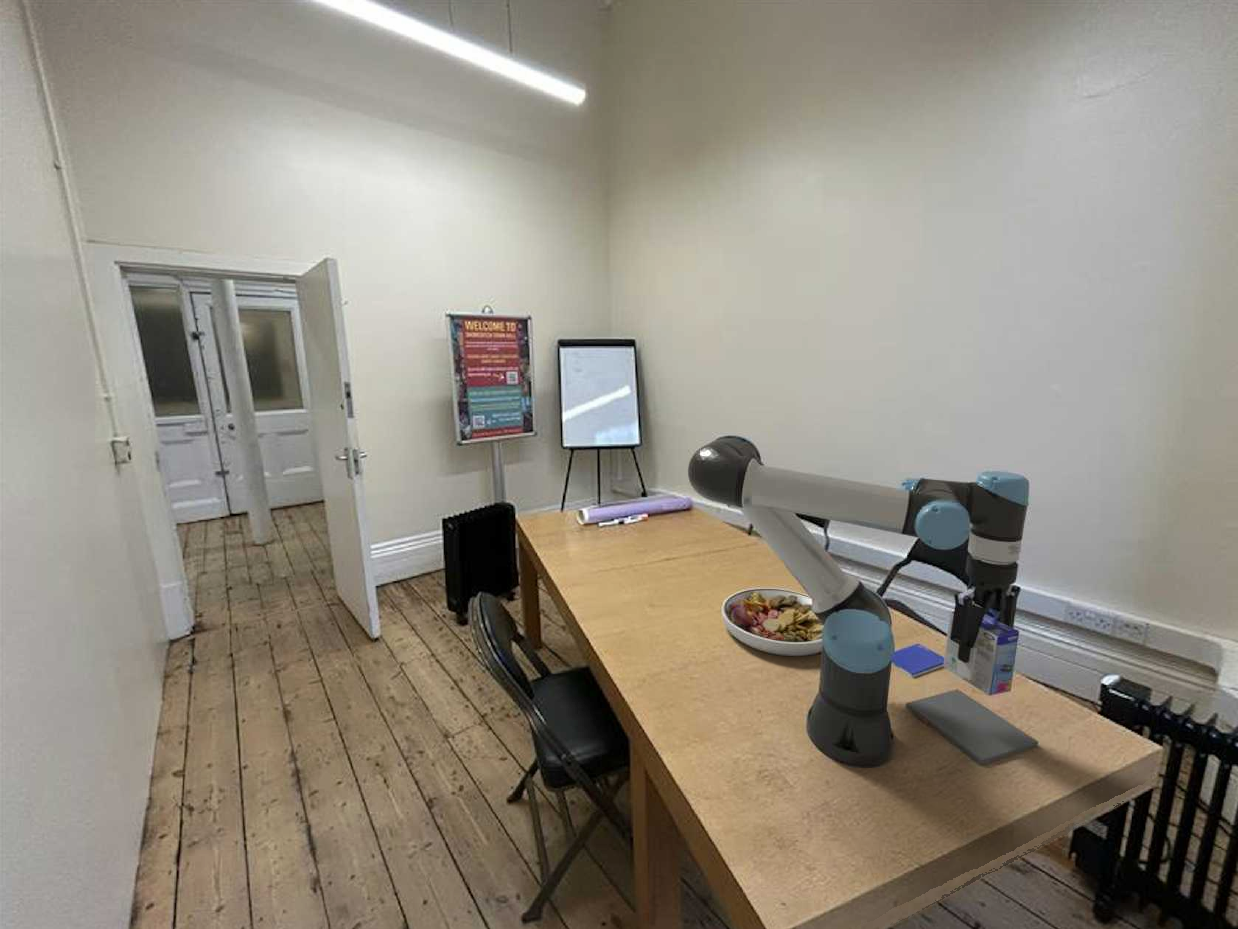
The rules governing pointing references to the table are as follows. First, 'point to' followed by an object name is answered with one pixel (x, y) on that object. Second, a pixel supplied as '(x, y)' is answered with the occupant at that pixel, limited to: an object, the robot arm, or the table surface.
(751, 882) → the table surface
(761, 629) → the bowl
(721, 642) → the table surface
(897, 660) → the blue book
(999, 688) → the ink cartridge box
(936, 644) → the table surface
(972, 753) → the rubber mat
